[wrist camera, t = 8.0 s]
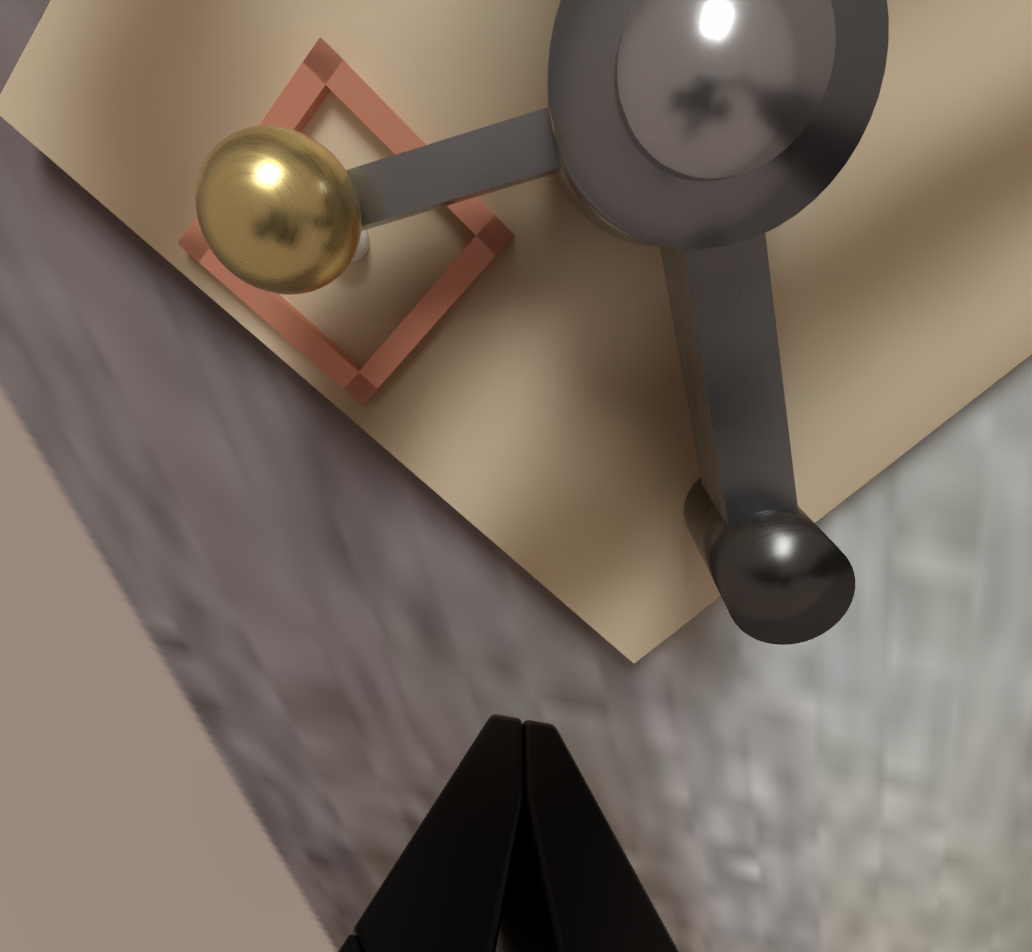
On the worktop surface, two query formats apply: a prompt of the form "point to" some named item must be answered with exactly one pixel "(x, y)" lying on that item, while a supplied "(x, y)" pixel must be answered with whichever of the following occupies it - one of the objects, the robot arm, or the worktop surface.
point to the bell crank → (635, 228)
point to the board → (580, 265)
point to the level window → (491, 234)
